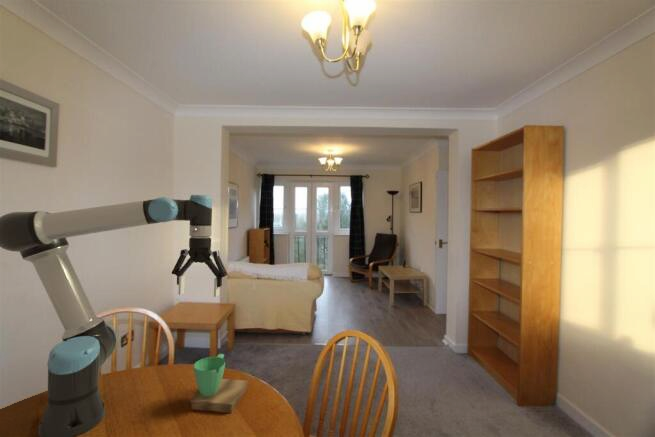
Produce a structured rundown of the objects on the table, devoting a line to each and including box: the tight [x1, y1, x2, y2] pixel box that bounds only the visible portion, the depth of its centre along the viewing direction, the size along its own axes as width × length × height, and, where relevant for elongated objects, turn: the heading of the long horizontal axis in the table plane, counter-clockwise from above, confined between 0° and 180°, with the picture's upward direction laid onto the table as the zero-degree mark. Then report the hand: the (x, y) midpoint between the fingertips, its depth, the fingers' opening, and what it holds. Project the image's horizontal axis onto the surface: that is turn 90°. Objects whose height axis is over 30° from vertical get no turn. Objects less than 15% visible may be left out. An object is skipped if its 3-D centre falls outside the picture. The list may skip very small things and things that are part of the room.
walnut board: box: [189, 378, 249, 414], centre depth 106 cm, size 14×14×3 cm
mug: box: [193, 353, 226, 398], centre depth 106 cm, size 15×10×10 cm
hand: (198, 294), depth 115 cm, fingers open, 13 cm apart
